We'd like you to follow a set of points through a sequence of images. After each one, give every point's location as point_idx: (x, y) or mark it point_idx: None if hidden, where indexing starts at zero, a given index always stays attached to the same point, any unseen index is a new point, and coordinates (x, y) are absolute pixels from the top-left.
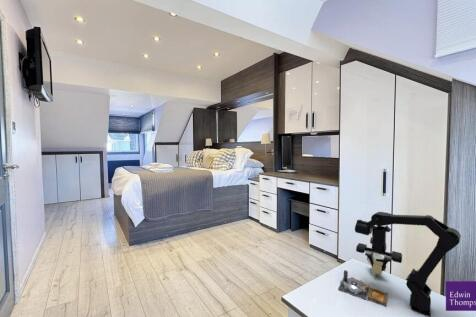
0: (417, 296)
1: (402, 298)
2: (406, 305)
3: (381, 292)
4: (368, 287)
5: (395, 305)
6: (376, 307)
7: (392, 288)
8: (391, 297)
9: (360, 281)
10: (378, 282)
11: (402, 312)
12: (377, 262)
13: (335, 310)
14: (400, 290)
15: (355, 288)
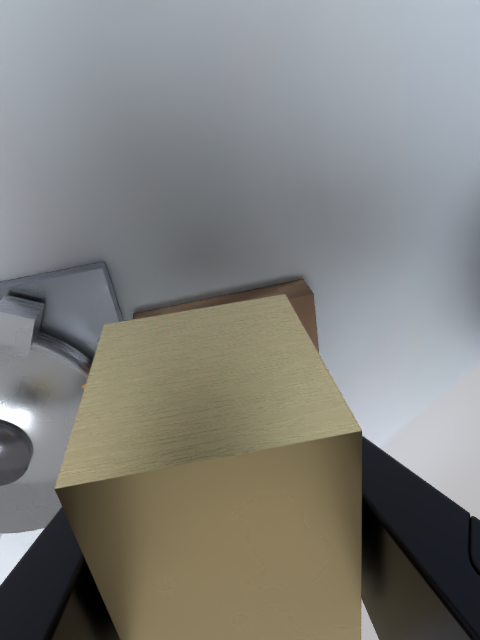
0: None
1: (429, 199)
2: (457, 294)
3: None
4: (113, 315)
5: (377, 366)
6: None
7: (321, 43)
8: (336, 271)
9: (6, 346)
10: (134, 19)
11: (425, 409)
12: (203, 559)
13: None
14: (411, 9)
15: (56, 503)
